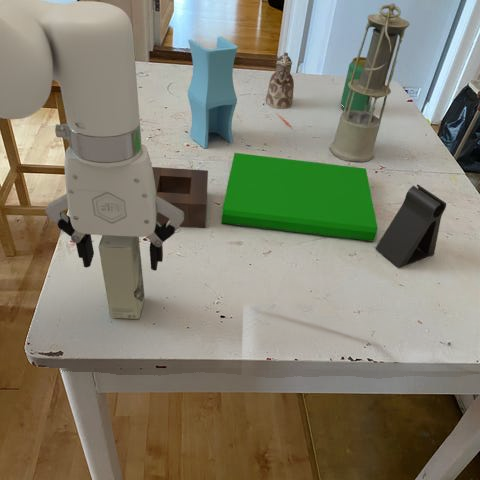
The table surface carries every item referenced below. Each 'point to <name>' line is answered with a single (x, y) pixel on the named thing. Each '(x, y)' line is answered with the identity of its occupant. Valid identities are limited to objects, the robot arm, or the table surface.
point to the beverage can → (358, 99)
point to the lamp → (370, 87)
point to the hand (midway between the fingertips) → (122, 262)
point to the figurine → (281, 84)
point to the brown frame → (183, 193)
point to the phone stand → (413, 228)
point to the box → (122, 275)
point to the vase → (212, 91)
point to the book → (299, 197)
